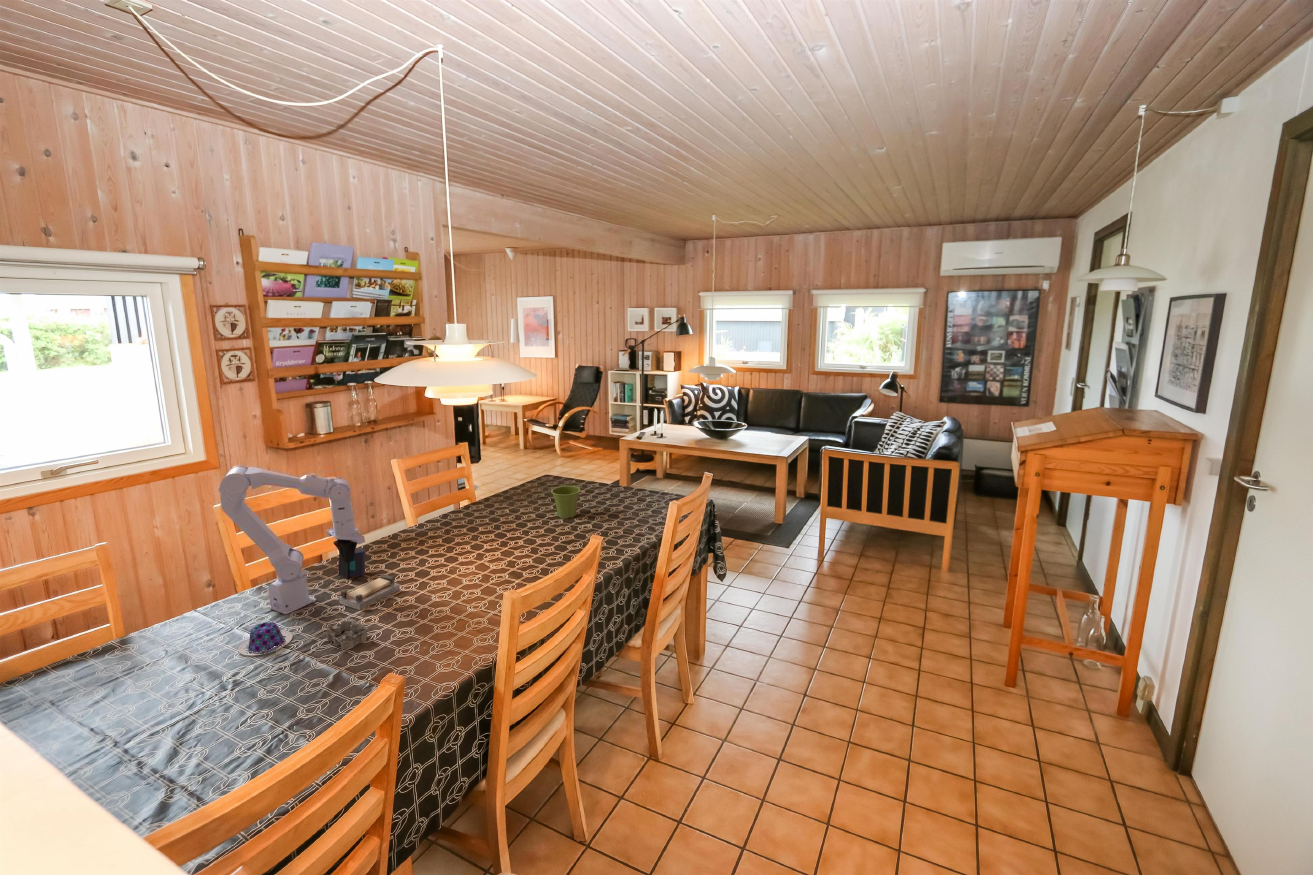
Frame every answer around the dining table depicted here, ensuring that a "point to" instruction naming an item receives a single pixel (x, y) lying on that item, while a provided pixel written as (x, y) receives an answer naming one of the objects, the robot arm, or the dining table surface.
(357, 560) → the speaker
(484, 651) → the dining table surface
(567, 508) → the plant pot
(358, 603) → the block
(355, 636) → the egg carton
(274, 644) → the purple beige domed disc
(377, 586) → the latch bar
